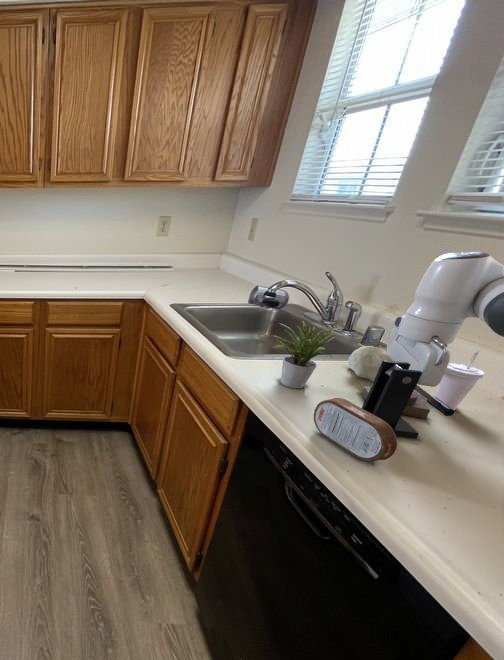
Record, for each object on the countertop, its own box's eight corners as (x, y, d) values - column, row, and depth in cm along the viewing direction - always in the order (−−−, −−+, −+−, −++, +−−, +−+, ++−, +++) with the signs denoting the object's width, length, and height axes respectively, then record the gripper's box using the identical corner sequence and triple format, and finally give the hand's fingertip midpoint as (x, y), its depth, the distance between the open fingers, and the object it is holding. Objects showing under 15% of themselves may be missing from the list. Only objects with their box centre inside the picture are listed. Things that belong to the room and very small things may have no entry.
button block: (412, 402, 98) (420, 387, 97) (426, 418, 92) (434, 402, 90) (360, 393, 102) (366, 379, 100) (369, 408, 96) (376, 393, 94)
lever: (429, 405, 88) (440, 398, 86) (446, 419, 83) (458, 411, 82) (380, 368, 87) (391, 360, 86) (394, 380, 82) (406, 371, 81)
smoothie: (469, 415, 93) (503, 358, 87) (433, 410, 95) (464, 354, 89) (453, 402, 99) (483, 347, 92) (419, 397, 100) (447, 343, 94)
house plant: (292, 368, 115) (311, 311, 108) (341, 390, 103) (366, 328, 96) (250, 373, 112) (267, 315, 105) (295, 398, 100) (318, 334, 93)
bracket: (395, 418, 92) (423, 361, 86) (416, 438, 85) (448, 378, 79) (337, 411, 94) (360, 355, 88) (353, 430, 87) (380, 370, 81)
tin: (387, 469, 76) (407, 430, 72) (373, 471, 75) (392, 432, 71) (317, 425, 89) (331, 390, 85) (305, 426, 88) (318, 391, 85)
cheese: (326, 376, 115) (373, 362, 101) (332, 353, 117) (380, 336, 102) (381, 398, 114) (437, 387, 99) (387, 374, 115) (442, 360, 101)
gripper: (470, 348, 79) (436, 411, 85) (427, 318, 96) (401, 372, 102) (428, 343, 82) (397, 404, 88) (393, 314, 98) (369, 367, 104)
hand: (399, 387), depth 95 cm, fingers closed, pressing on button
